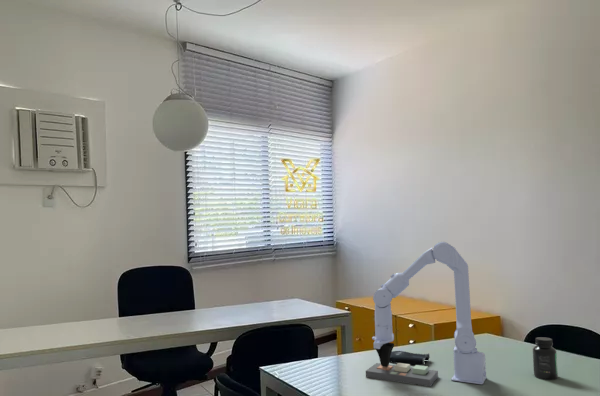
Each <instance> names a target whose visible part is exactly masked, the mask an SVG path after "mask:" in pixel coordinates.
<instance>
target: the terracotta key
mask: <svg viewBox="0 0 600 396" xmlns="http://www.w3.org/2000/svg"><path fill="white" fill-rule="evenodd" d="M392 368H393V366H388V367H384V366H381V365H380V366H379V367H377V369H382V370H391V369H392Z"/></svg>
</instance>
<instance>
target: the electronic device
mask: <svg viewBox="0 0 600 396" xmlns="http://www.w3.org/2000/svg"><path fill="white" fill-rule="evenodd" d="M430 358H431V357H430V353H424V354H423V353H414V352H408V351H403V350H394V351H393V350H392V352H391V356H390V362H389V363H393V364H395V363H396V364H397V363H404V364H410V365H412V364H413V366H416V365H420V366H425V365H424V362H425V361H424V360H428V361H429V360H430ZM425 364H427V362H425Z"/></svg>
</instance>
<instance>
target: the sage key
mask: <svg viewBox="0 0 600 396" xmlns="http://www.w3.org/2000/svg"><path fill="white" fill-rule="evenodd" d="M412 368H413V373H414V374H421V375H426V374H427V373H428V370H429V366H428V365H424V366H423V365H413V367H412Z"/></svg>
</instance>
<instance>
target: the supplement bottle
mask: <svg viewBox="0 0 600 396" xmlns="http://www.w3.org/2000/svg"><path fill="white" fill-rule="evenodd" d="M553 346H554V343H553V338H550V337H542V336H540V337H535V346H533V348H532V363H533V365H532V366H533V375H534V377H535V378H537V379H541V380H546V381H554V380H557V379H558V376H559V372H558V371H559V370H558V356H557V355H558V353H557V350H556V348H554V347H553Z"/></svg>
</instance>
